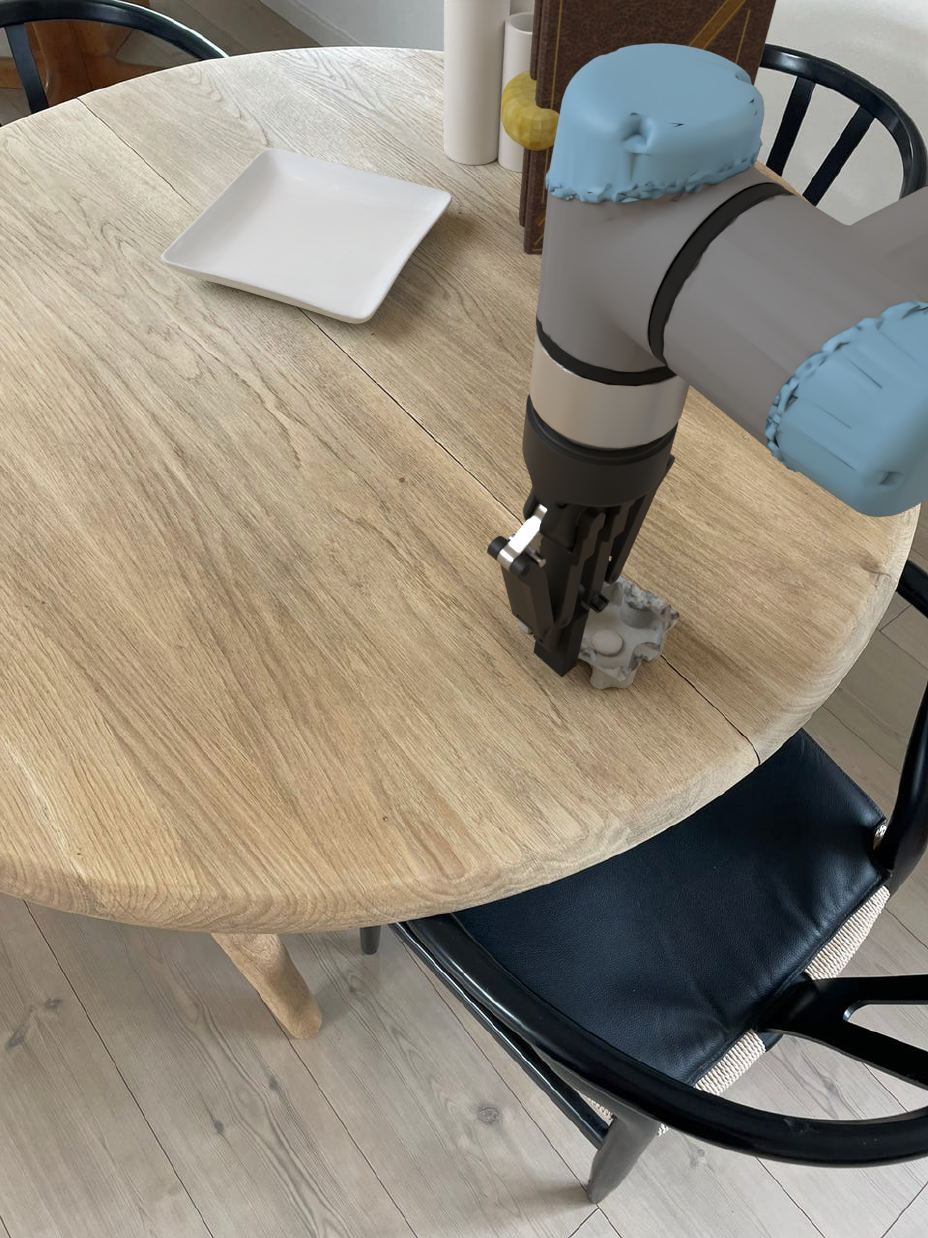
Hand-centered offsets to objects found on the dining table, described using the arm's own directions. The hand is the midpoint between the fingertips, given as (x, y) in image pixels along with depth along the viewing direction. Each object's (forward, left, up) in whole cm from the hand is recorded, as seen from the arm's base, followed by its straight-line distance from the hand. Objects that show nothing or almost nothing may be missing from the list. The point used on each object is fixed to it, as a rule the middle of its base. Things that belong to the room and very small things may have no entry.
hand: (554, 659), depth 67 cm
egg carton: (+1, -4, -2) cm, 5 cm away
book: (+33, -41, -2) cm, 52 cm away
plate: (+49, -17, -2) cm, 52 cm away
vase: (+51, -43, -2) cm, 67 cm away
